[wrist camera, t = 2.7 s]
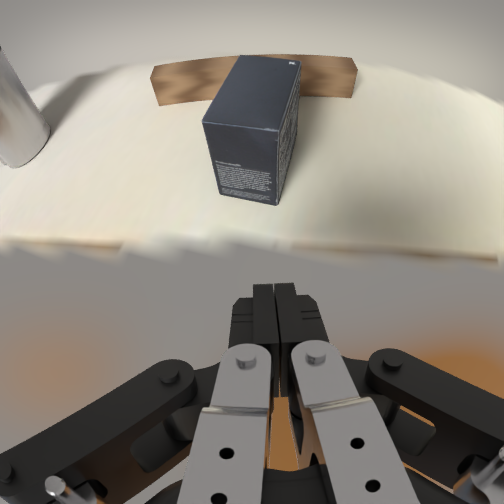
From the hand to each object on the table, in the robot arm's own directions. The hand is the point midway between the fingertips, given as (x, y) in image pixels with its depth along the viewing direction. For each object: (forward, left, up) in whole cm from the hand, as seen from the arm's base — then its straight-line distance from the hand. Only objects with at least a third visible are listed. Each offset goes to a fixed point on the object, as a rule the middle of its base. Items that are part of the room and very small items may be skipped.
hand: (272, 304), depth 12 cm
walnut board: (0, +32, -14) cm, 35 cm away
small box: (0, +19, -15) cm, 24 cm away
